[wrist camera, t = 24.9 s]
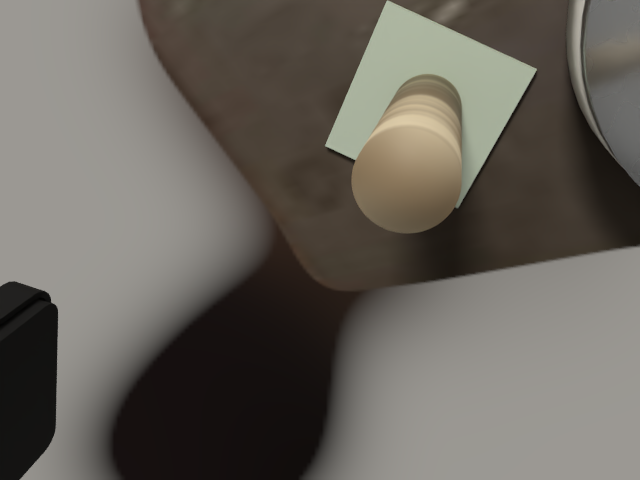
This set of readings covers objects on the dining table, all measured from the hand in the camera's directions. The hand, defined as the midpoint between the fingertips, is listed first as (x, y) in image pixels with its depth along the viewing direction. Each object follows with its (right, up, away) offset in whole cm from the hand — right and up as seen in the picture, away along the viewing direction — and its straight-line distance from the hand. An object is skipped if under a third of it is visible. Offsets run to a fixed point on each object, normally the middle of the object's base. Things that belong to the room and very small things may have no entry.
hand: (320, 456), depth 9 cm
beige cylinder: (+6, +11, +25) cm, 28 cm away
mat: (+6, +11, +25) cm, 28 cm away
